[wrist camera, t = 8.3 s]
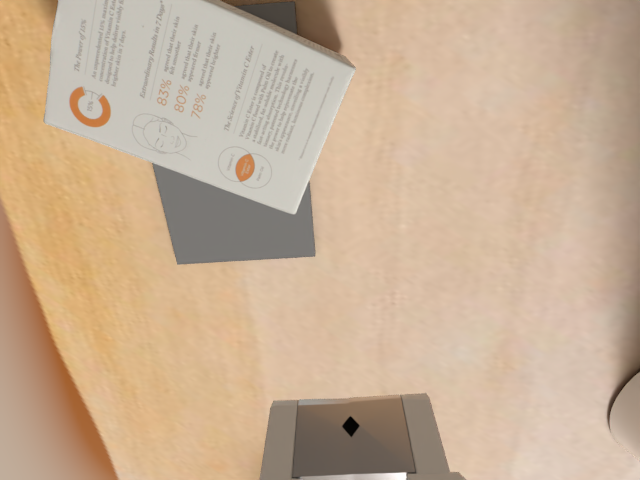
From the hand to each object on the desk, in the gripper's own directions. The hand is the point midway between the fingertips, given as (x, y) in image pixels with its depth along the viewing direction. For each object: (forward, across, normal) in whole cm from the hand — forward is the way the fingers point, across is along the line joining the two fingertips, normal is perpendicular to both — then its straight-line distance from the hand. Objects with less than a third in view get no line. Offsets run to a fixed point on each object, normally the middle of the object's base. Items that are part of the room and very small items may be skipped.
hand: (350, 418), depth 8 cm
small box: (+18, 0, -2) cm, 18 cm away
